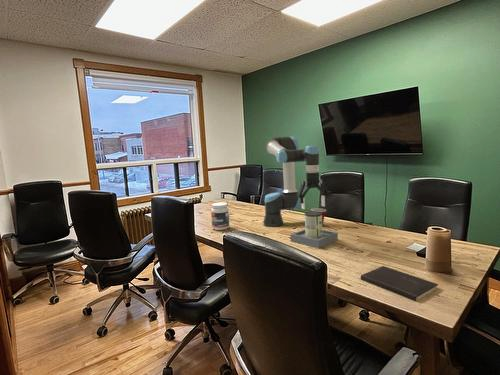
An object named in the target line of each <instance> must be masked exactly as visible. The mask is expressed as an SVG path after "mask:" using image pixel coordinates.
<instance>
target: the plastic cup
mask: <svg viewBox="0 0 500 375" xmlns="http://www.w3.org/2000/svg"><path fill="white" fill-rule="evenodd" d="M310 211H318V212H322V227H324V226H323V225H324V221H325V220H324V219H325V215H326V211H327V209H325V208H321V207H312V208H310Z"/></svg>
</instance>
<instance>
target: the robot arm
mask: <svg viewBox="0 0 500 375" xmlns="http://www.w3.org/2000/svg"><path fill="white" fill-rule="evenodd" d="M319 147H320V146H318V145H306V147H305V148H302V149H301V148H300V149H299V142H298V140H297V138H296V137H295V136H277V137H272V138H270V139H269V140H267V142H266V143H265V150H266V152H267V153H268V154H270V155H273V156H275V159H276V162H277V163H279V164H282V173H283V190H282V192H281V193H282V194H281V193H280V192H270V193H268V194H266V195H265V196H264V210H265V211H264V214H265V215H264V219H263V222H262V223H263V226H264V227H270V228H275V227H281V226H284V220H283V217H282V212H281V211H285V210H295V209H299V208H300V206H301V209H302V210H305V209H306V201H305V200H306V198H305V196H306V195H307V194H308V191H309V190H310V189H313V188H314V189H315V188H316V189H317V190H318V191H319V192H320V194H321V195H320V196H321V197H320V201H321V207H326V200H327V196H328V195H329V194H330V193H329V190H328V188H327V186H326V183H325V180H324V179H320V148H319ZM301 162H302V163H303V162H305V172H306V174H305V176H306V180H302V181H301V184H300V188H299V190H298V189H296V170H295V168H296V167H295V163H301Z"/></svg>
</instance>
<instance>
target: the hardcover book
mask: <svg viewBox="0 0 500 375" xmlns="http://www.w3.org/2000/svg"><path fill="white" fill-rule="evenodd" d="M360 281H363V282H366V283H369V284H370V285H373V286H375V287H378V288H381V289H384V290H386V291H389V292H391V293H394V294H396V295H398V296H401V297H404V298H405V299H409V300H411V301H414V302H417V301H419V300H420V299H421V298H423V297H425V296H427V295H429V294H431V293H432V292H434V291H435V290H437V289H438V288H437V287H438V286H439V283H435V282H433V281H429V280H426V279H424V278H421V277H417V276H414V275H411V274H408V273H405V272H402V271H399V270H397V269H394V268H391V267H388V266H384V265H381V266H380V267H377V268H375V269H373V270H371V271H367V272H366V273H363V274H361V275H360Z"/></svg>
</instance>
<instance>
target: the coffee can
mask: <svg viewBox="0 0 500 375" xmlns="http://www.w3.org/2000/svg"><path fill="white" fill-rule="evenodd" d="M304 229H305V236H306V237H309V238H320V237H322V236H323V235H322V230H323V226H322V212H318V211H312V210H310V211H309V210H308V211H305V212H304Z"/></svg>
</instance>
